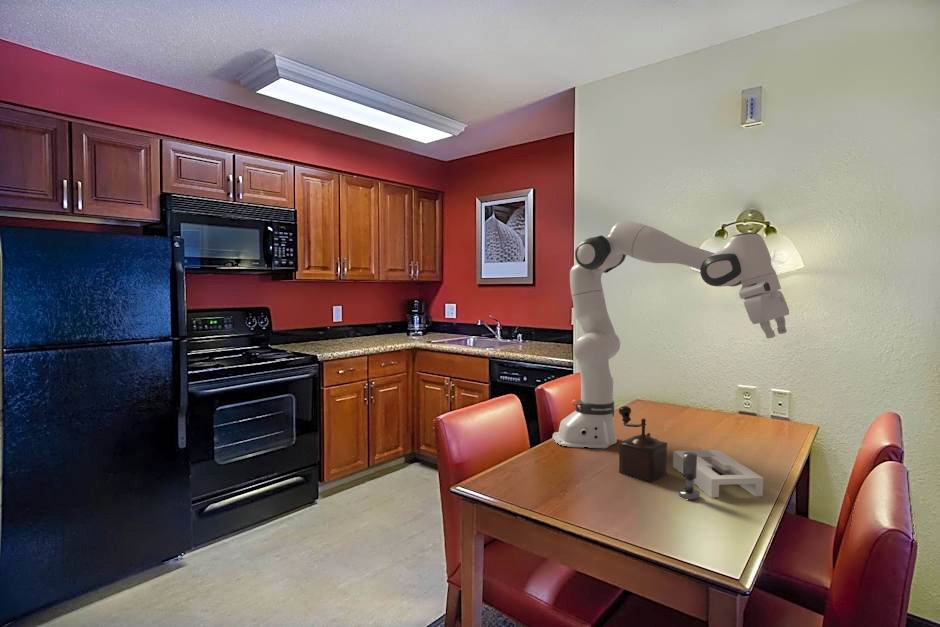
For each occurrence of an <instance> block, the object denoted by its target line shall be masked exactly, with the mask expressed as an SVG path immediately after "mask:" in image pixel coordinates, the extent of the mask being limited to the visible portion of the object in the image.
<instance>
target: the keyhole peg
mask: <svg viewBox="0 0 940 627" xmlns="http://www.w3.org/2000/svg"><path fill="white" fill-rule="evenodd" d="M696 471H697V454H695V453H690V452H685V453H684V461H683V475H682V476H683V478H685V480H684V481H685V484H684V485H685V486H684V487H683V488H682V487H681V488H679V490H678V497H679V496H680V497H682V498H684V499H688V500H697V501H699V500H700V499H699V498H700V497H701V495H700V492H699V491H698V490H696V489H694V485H695V484H694V479H696ZM680 497H679V498H680ZM682 498H681V499H682ZM684 499H683V500H684ZM698 499H699V500H698ZM688 500H687V501H688Z"/></svg>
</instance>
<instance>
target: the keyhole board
mask: <svg viewBox="0 0 940 627" xmlns="http://www.w3.org/2000/svg"><path fill="white" fill-rule="evenodd" d="M685 452H690V453H695V454H697V471H696V479H694V485H695V484H696V485H697V486H698V489H700V490H701V491H702V490H703V491H704V492H703V491H702V492H703V493H705V494H706V495H707V494H708V495H709V496H708V495H707V496H708V497H710V498H711V499H713V498H714V499H716V498H715V497H718V498H719V497H720V496H719V495H720V486H724V485H738V486H739V487H741V488H742V489H743V490H745V491H747V492H748V493H750V494H751V495H752V496H753V497H755V498H756V497H763V496H764V495H763V494H764V477H762V476H761V475H759V474H758V473H757V472H755V471H753V470H751V469H750V468H748V467H746V466H744V465H743V464H742V463H740V462H739V461H736V460H735V459H734V458H732V457H730V456H729V455H727V454H726V453H723V452H722V451H720V450H719V449H704V450H703V449H699V450H698V449H697V450H696V449H694V450H673V454H672V455H673V457H672V467H673V468H674V469H675V470H676V469H677V470H676V471H677V472H679V473H680V472H681V473H682V474H683V461H684V453H685ZM709 462H710V463H709ZM713 469H715V470H717V472H715V471H714V470H713ZM718 472H719V473H721V474H722V475H720V474H719V473H718ZM681 473H680V474H681ZM682 474H681V475H682ZM696 485H695V486H696ZM697 486H696V487H697ZM718 498H717V499H718Z"/></svg>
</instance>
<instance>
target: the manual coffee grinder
mask: <svg viewBox="0 0 940 627" xmlns="http://www.w3.org/2000/svg"><path fill="white" fill-rule="evenodd" d="M618 413H619V415H621V417H622V418H621V419H622V420H621V421H622V422H623V426H624V427H628V428H629V427H630V428H639V427H641V434H638V435H634V436H631V437H630V438H627V439H625V440H623V441H620V442H619V444H618V446H619V450H618V451H619V453H618V454H619V457H618V458H619V459H618V460H619V461H618V465H619V466H618V469H619V470H618V473H619V472H620V473H619V474H621V473H622V475H624V474H625V475H624V476H627V475H628V476H627V477H630V476H631V477H630V478H633V477H635V478H634V479H636V478H638V479H637V480H640V479H641V480H640V481H644V480H645V481H644V482H647V481H648V483H652V481H653V482H655V481H657V480H659V479H660V478H662V477H663V475H664V476H666V475H667V471H668V470H667V468H668V466H667V465H668V462H667V461H668V442H665V441H661V440H659V439H657V438H655V437H652V436H651V433H650V432H648V433H647V434H646V426H647V424H646V421H647V420H646V419H645V418H641V419H640V421H641V422H640V423H636V424H635V423H629V422H630V421H632V418H631V416H630V415H631V413H632V409H631V407H630V406H627V405H626V406H624V405H623V406H621V407H619V409H618ZM661 476H662V477H661ZM656 479H657V480H656ZM654 480H655V481H654Z"/></svg>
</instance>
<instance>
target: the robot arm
mask: <svg viewBox="0 0 940 627" xmlns="http://www.w3.org/2000/svg"><path fill="white" fill-rule="evenodd" d="M627 256H628V257H630V258H633V259H635V260H636V259H637V260H639V261H642V262H645V263H652V264H679V265H684V266H687V267H691V268H693V269H696V270H699V273H700V276H701V279H702V280H703V281H704V283H706V284H707V285H709V286H711V287H716V288H717V287H719V288H720V287H738V286H740V285H741V288H740V290H739V291H738V295H739V298H740V299H741V300H743V305H744V308H745V311H746V314H747V315H748V318H749V320H750V322H751V323H752V324H753V325H757V324H759V326H760V328H761V330H762V331H763V332H764V334H765V337H766V338H767V339H773V338H775V337H776V334H775V330H773V328H772V326H771V321H773V320H775V323H776V326H777V328H776V329H777V333H778V334H780V335H782V334H785V333H787V332H788V330H787V326H786V318H785V316H788V315H789V314H790V310H789V307H788V304H787V302H786V298H785V297H784V296H785V295H784V294H783V292H782V291H781V289H782V287H781V284H780V281H779V278H778V274H777V272H776V270H775V269H774V267H773V264H772V258H771V254H770V251H769V249H768V246H767V243H766V242H765V240H764V238H763V237H762V235H761V234H759V233H756V232H744V233H739V234H734V235H733V236H731V237H730V238H729V239H728V241H727V242H726V243H725V244H724V245H723V246H722V247H721V248H720V249H719V250H717V251H716V252H713V251H709V250H706V249H702V248H698V247H696V246H693V245H689V244H687V243H685V242H683V241H681V240H679V239H677V238H675V237H674V236H671V235H670V234H668V233H665V232H664V231H661V230H660V229H657V228H655V227H653V226H650V225H649V226H648V225H647V224H643V223H639V222H635V221H625V220H622V221H618V222H616V223H615V224H614V225H613V226H612V227H611V229H610V231H609V233H608V235H606V236H604V235H598V236H592V237H588V238H586V239H584V240H582V241H581V242H579V243H578V244H577V245H576V248H575V250H574V257H575V258H574V259H575V261H576V264H574V265H572V267H571V269H570V270H569V286H570V287H569V288H570V294H571V295H570V296H571V299H572V305H573V310H574V315H575V318H576V320H577V321H578V322H579V324H580V327H581V329H582V332H583V333H584V334H582V335H581V336H580V337H578V338H577V340H576V341H575V342H574V344H573V347H572V352H573V356H574V358H575V359H576V361H577V366H578V369H579V375H580V399H579V400H577V399H572V401H571V404H572V406H574V407H575V408H574V409H575V410H574V411H573V412H571V413H569V415H567V416H566V417H564V418H563V419H561V421H560V423H559V428H558V431H555V432H553V433H552V440H553V439H554V440H555V441H554V440H553V441H554V442H555V444H557V443H558V444H559V446H560V445H562V446H561V447H563V446H567V447H566V448H584V447H588V448H592V449H607V448H609V447H610V446H612V445H614V444H616V443H617V442H618V439H617V436H616V432H615V423H614V417H615V401H614V378H613V377H612V375H611V370H610V365H609V360H611V359H612V358H614V357H615V356H616V355H617V354H618V352H619V351H620V347H621V341H620V338H619V336H618V335H617V333H616V332H615V328H614V326H613V324H612V320H611V318H610V316H609V313H608V309H607V304H606V298H605V293H604V290H603V283H602V275H603V273H604V274H607V273H609V272H610V271H612V270H613V269H615V268H617V267H619V266H620V265H621V264H622V263H624V262H625V260H626V257H627ZM558 444H557V445H558ZM588 448H587V449H588Z"/></svg>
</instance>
